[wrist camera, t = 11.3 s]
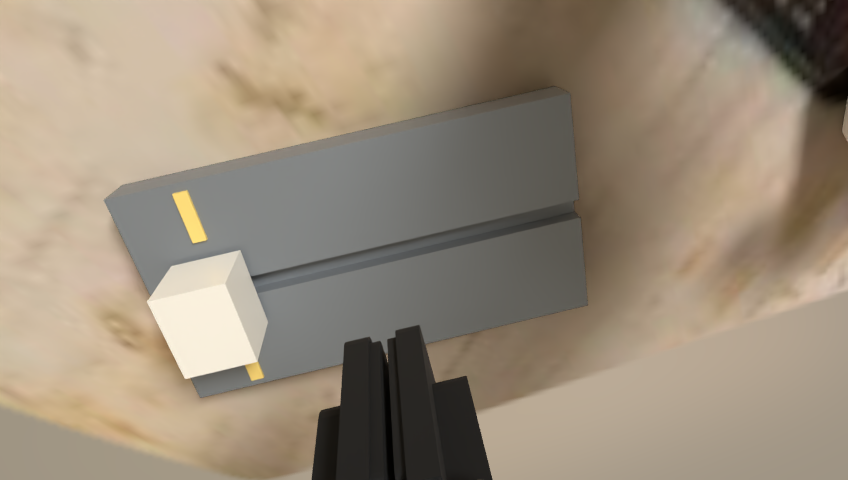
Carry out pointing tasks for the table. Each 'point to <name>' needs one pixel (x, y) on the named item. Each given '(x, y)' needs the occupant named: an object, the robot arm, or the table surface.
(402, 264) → the fader board
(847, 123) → the figurine
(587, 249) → the table surface
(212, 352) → the fader knob
